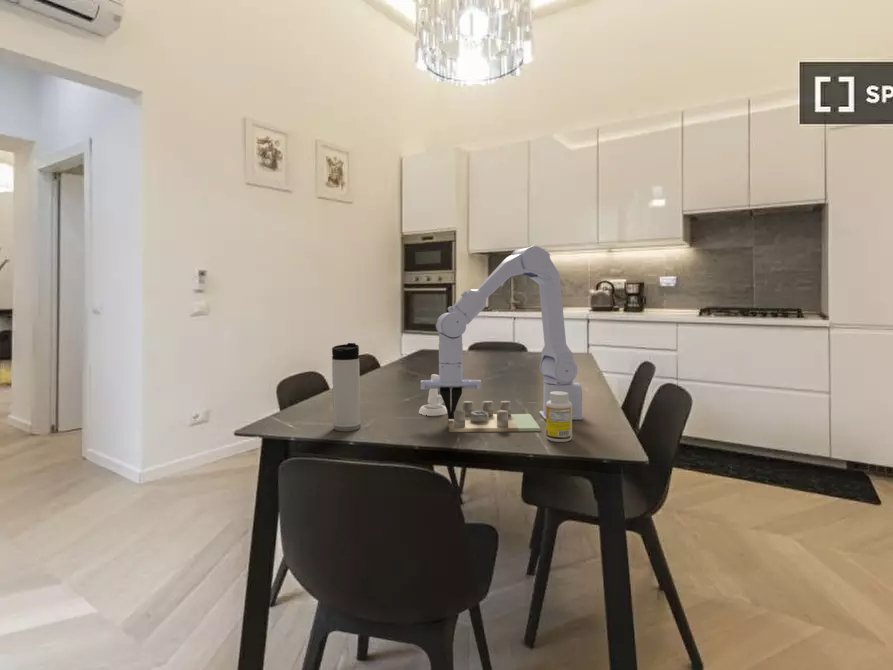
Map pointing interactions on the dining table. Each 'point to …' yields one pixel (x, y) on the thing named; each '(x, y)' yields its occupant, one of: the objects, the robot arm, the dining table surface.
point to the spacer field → (494, 423)
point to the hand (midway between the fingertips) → (451, 418)
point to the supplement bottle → (559, 417)
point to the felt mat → (525, 422)
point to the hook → (433, 402)
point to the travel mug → (346, 387)
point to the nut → (479, 416)
